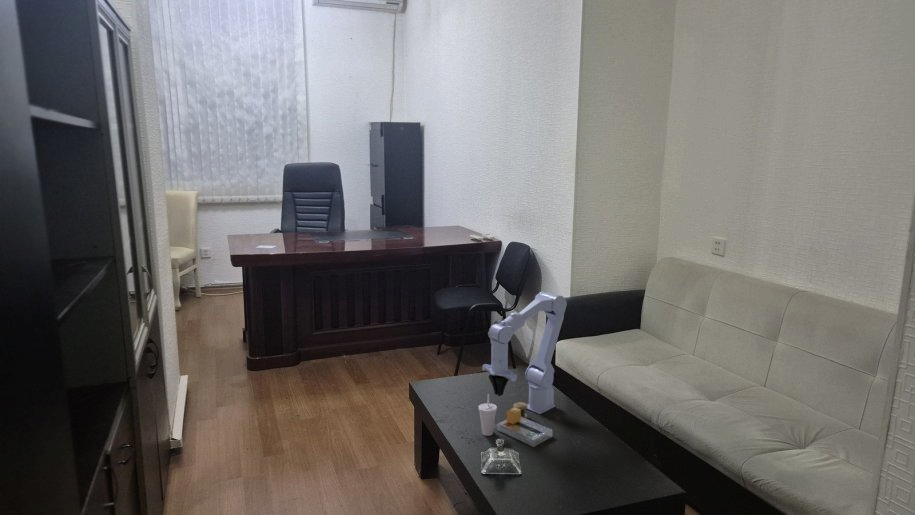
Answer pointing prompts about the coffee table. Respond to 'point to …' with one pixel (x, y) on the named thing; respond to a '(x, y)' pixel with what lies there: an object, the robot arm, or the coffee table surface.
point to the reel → (521, 408)
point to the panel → (526, 431)
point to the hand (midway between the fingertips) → (498, 394)
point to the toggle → (513, 415)
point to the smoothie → (487, 417)
